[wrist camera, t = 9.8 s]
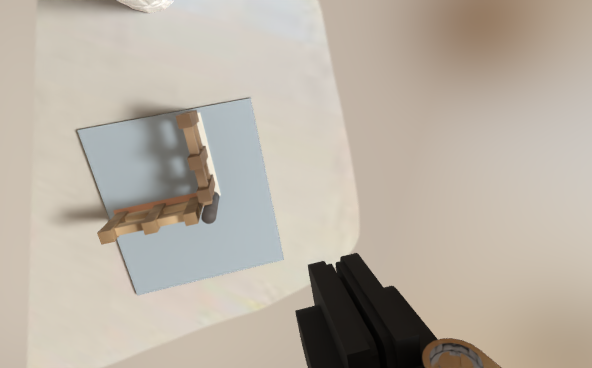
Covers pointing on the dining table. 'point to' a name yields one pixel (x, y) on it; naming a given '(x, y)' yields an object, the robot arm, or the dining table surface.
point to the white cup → (147, 4)
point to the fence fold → (151, 219)
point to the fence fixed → (199, 165)
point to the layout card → (187, 194)
